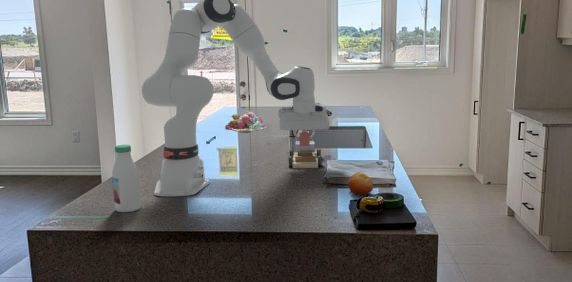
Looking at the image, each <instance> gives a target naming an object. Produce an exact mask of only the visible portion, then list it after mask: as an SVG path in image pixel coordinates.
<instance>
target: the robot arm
mask: <svg viewBox="0 0 572 282" xmlns="http://www.w3.org/2000/svg"><path fill="white" fill-rule="evenodd" d="M217 28H222V29H223V30H224V31H225V32H226V33H227V35H228V36H229V38H230V39H231V41H232V42H233V43H234V45H235V46H236V47H237V48H238V50H239V51H240V52H242V54H243V55H245V57H248V58H249V59H250V60H251V61H252V62H253V63H254V65H255V66H256V68H257V70H258V71H259V72H260V74H261V75H262V76H263V79H264V80H265V85H266V89H267V92H268V94H270V96H271V97H273V98H275V99H276V100H279V101H286V100H290V99H292V106H287V107H281V108H279V109H278V111H277V114H278V118H279V127H278V128H279V130H280V131H292V133H293V135H294V137H295V142H296V141H300V135H298V133H297V131H302V130H307V131H311V132H312V134H311V135H310V141H314V136H315V135H316V132H317V130H320V131H324V130H325V131H326V130H327V131H328V129H330V119H329V115H328V113H327V107H326V105H325V104H322V103H319V102H316V99H315V90H316V89H315V87H316V84H315V74H314V72H313V71H314V70H312V69H311V68H310V67H306V66H300V65H295V66H294V67H293V68H291V69H289V70H288V71H287V72H284V73H283V72H280V71H279V70H278V68H277V67H276V65H275V64H274V62H273V61H272V59H271V58H270V57H269V55H268V53H267V50H266V48H265V47H266V46H265V39H264V36H263V34H262V32H261V30H260V28H259V27H258V25H257V24H256V22H255V21H254V18H252V16H251V15H250V14H249V13H248V12H247V11H246V9H245V8H244V7H242V5H240V4H238V3H234V2H233V1H231V0H200V1H199V2H198V3H196V5H195V6H193V7H192V8H187V7H183V8H179V9H177V10H176V11H175V12H174V14H173V16H172V20H171V24H170V28H169V32H168V38H167V39H168V40H167V46H166V50H165V55H164V57H163V60H162V62H161V64H160V65H159V66H158V68H157V69H156V71H154V73H152V74H151V75H150V76H148V77H147V78H146V79H145V80H144V81H143V83H142V86H141V94H142V98H143V99H144V101H145V102H146V103H147V104H149V105H153V106H156V107H157V106H158V107H173V108H174V107H175V108H176V112H175V113H176V114H175V115H174V116H173V117H170V118H169V119H168V120H166V122H165V123H164V126H163V132H164V133H163V135H164V136H163V137H164V146H163V152H162V156H163V158H164V159H163V160H161V169H160V173H159V180H157V181H156V185H155V189H154V192H153V194H154V196H159V197H186V196H192V195H195V194H197V193H198V192H200V191H201V190H202V189H204V188H205V187H206V186H208V185H209V184H210V182H211V181H210V179H207V178H205V177H206V175H205V168H204V166H205V165H204V160H203V159H202V158H200V156H199V154H200V153H199V145H198V143H197V123H198V122H197V121H198V118H199V115H200V114H201V112H202V111H203V109H204V108H205V107H206V106H207V105H209V104H210V102H211V101H212V99H213V97H214V86H213V84H212V82H211V81H210V79H209V78H207V77H205V76H201V75H195V74H184V73H185V72H186V71H187V70H189V69H190V68H193V66H195V65H196V63H197V62H198V59H199V50H200V45H201V43H200V42H201V35H202V34H208V33H211V32H212V31H213V30H216V29H217Z"/></svg>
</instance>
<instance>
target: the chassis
mask: <svg viewBox="0 0 572 282" xmlns="http://www.w3.org/2000/svg"><path fill="white" fill-rule="evenodd" d="M315 149H316V150H315ZM321 152H322V149H321V148H315V141H314V140H313V141H310V146H300V141H296V140H295V151H294V149H293V148H291V149H289V156H288V167H292V169H318V168H319V167H322V166H323V157H322V153H321Z"/></svg>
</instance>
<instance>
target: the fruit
mask: <svg viewBox="0 0 572 282" xmlns="http://www.w3.org/2000/svg"><path fill="white" fill-rule="evenodd" d="M348 188H349V192H348V195H349V194H353V195H355V196H358V195H359V197H365V196H366V195H368V194H370V193H371V192H372V191H373V189H374V183H373V180H372V178H370V176H368V175H367V174H365V173H361V172H356V173H354V174H352V175H351V176H350V177H349V180H348Z"/></svg>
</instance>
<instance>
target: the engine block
mask: <svg viewBox="0 0 572 282" xmlns="http://www.w3.org/2000/svg"><path fill="white" fill-rule="evenodd" d="M299 136H300V146H310V136H311V135H310V130H299Z"/></svg>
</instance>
